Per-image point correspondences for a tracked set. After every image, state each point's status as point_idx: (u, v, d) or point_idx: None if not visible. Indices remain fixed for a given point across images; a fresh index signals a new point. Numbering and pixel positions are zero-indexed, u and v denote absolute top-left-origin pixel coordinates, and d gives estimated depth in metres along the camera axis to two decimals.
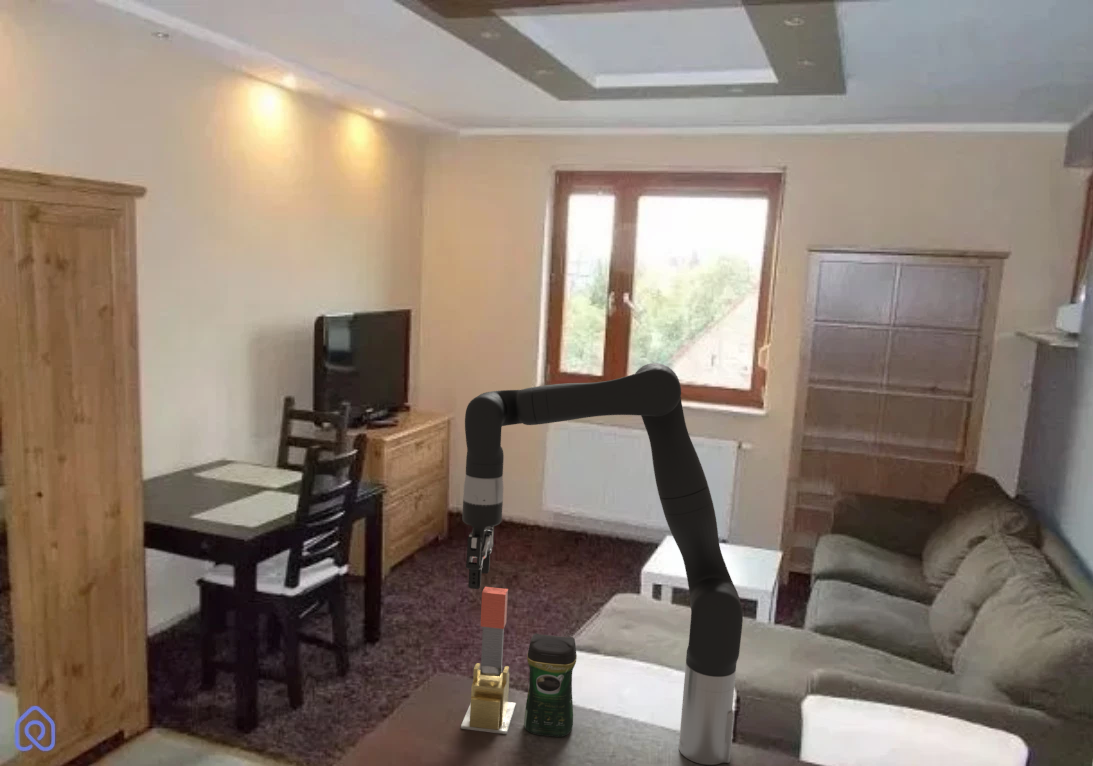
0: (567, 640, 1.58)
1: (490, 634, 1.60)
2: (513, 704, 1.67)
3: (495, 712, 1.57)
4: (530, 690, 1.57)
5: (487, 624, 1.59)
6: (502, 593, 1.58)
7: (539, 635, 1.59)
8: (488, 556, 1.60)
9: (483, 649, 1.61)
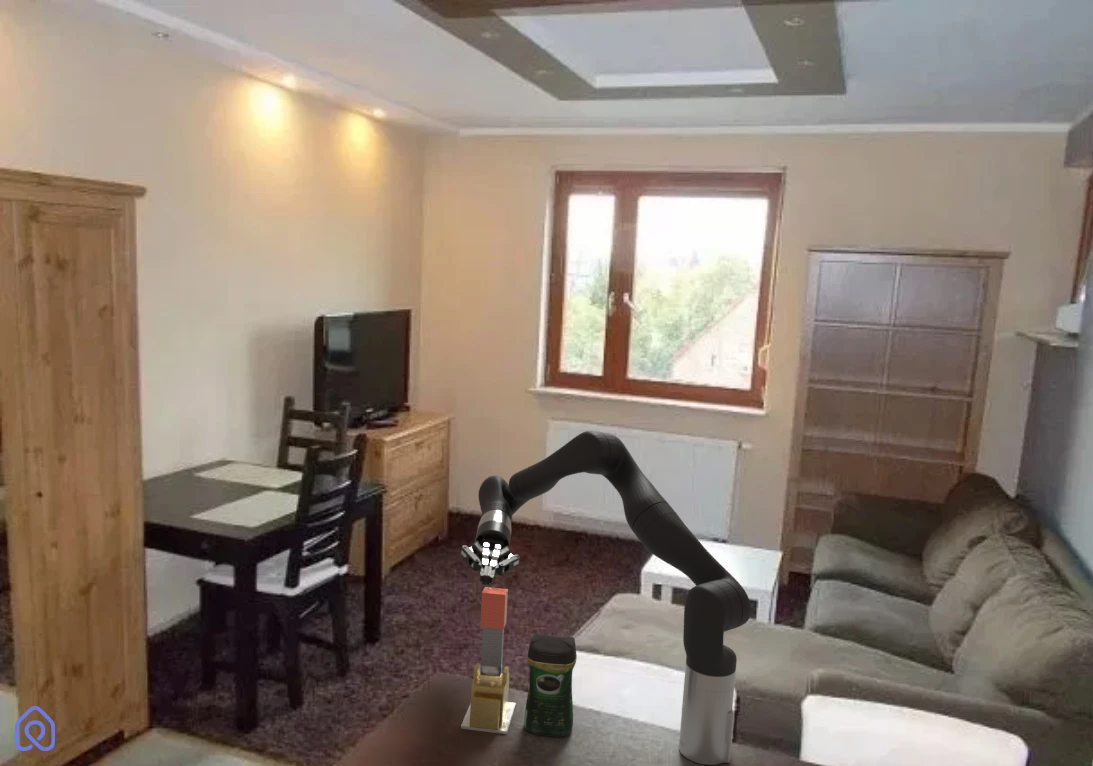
0: (567, 640, 1.58)
1: (490, 634, 1.60)
2: (513, 704, 1.67)
3: (495, 712, 1.57)
4: (530, 690, 1.57)
5: (487, 624, 1.59)
6: (502, 593, 1.58)
7: (539, 635, 1.59)
8: (488, 567, 1.68)
9: (483, 649, 1.61)
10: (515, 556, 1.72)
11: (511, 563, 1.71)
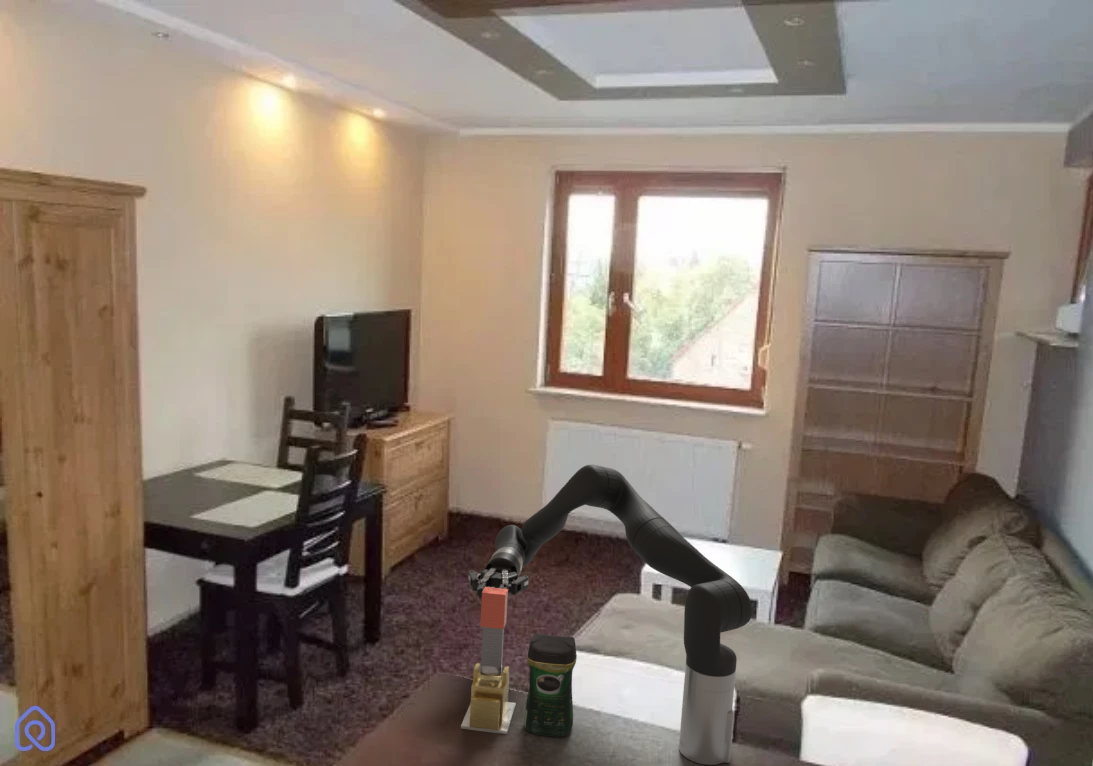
0: (567, 640, 1.58)
1: (490, 634, 1.60)
2: (513, 704, 1.67)
3: (495, 712, 1.57)
4: (530, 690, 1.57)
5: (487, 624, 1.59)
6: (502, 593, 1.58)
7: (539, 635, 1.59)
8: (501, 585, 1.72)
9: (483, 649, 1.61)
10: (524, 576, 1.77)
11: (522, 582, 1.75)
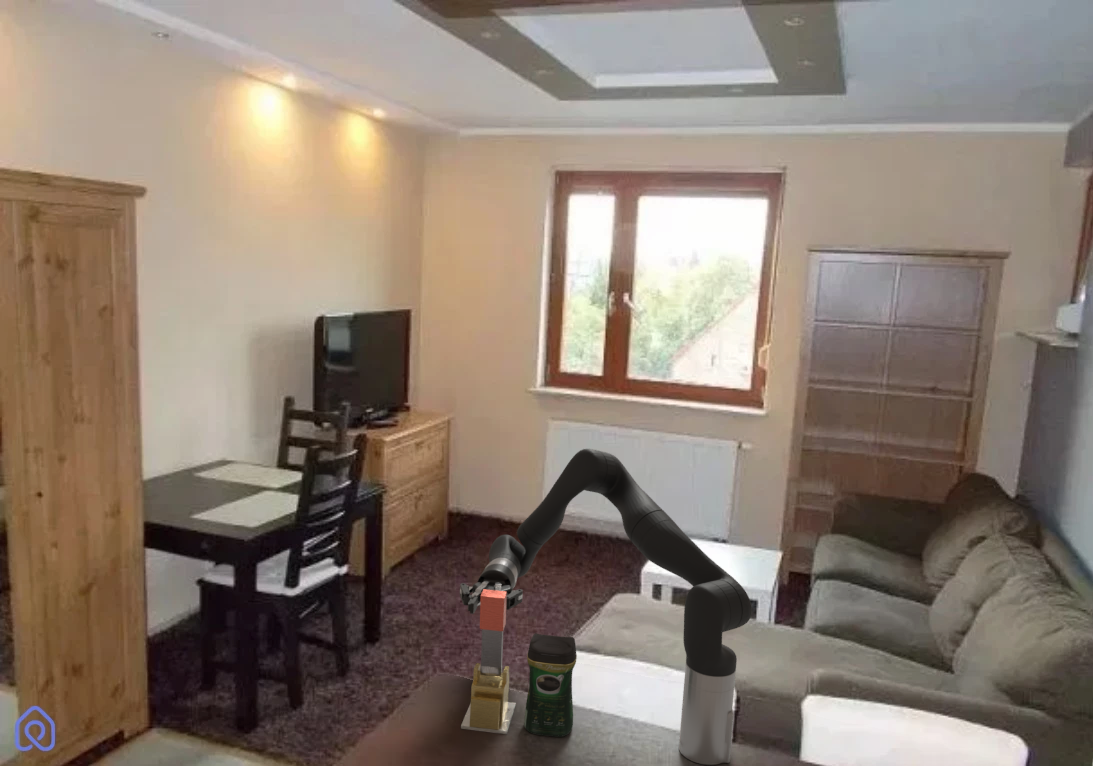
0: (567, 640, 1.58)
1: (489, 636, 1.59)
2: (513, 704, 1.67)
3: (495, 712, 1.57)
4: (530, 690, 1.57)
5: (486, 626, 1.58)
6: (501, 597, 1.57)
7: (539, 635, 1.59)
8: None
9: (483, 650, 1.60)
10: (518, 590, 1.69)
11: (516, 596, 1.67)
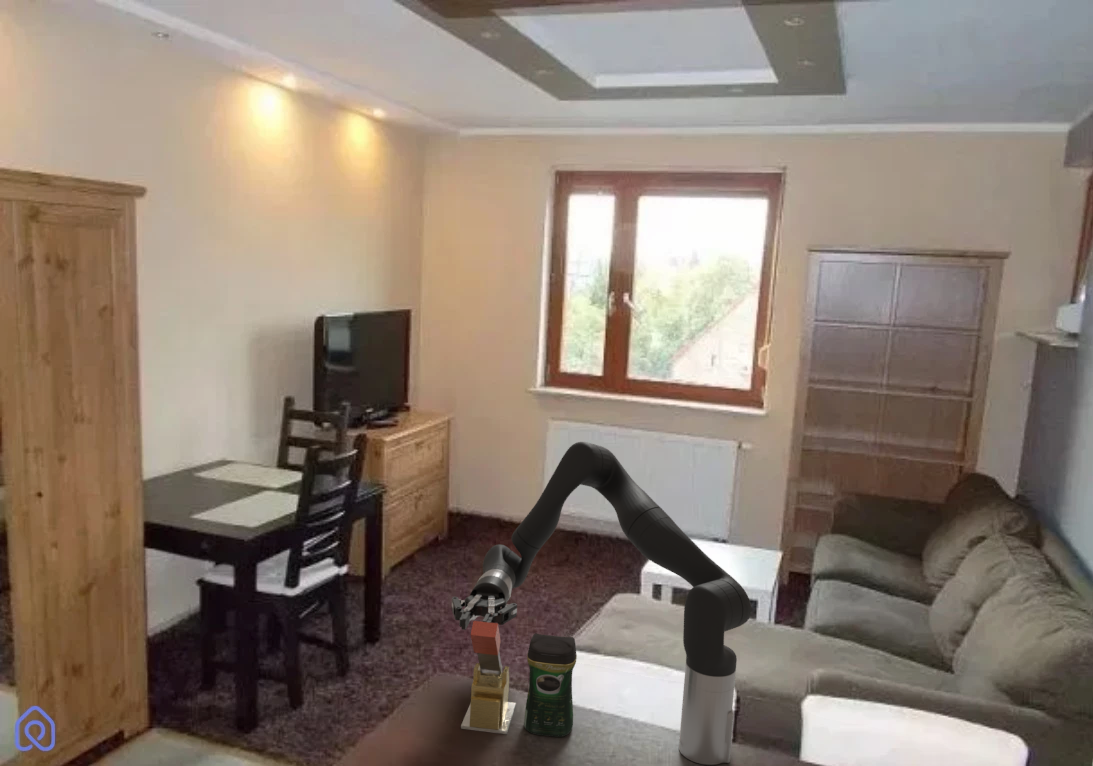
0: (567, 640, 1.58)
1: (485, 654, 1.56)
2: (513, 704, 1.67)
3: (495, 712, 1.57)
4: (530, 690, 1.57)
5: (480, 651, 1.54)
6: (492, 635, 1.49)
7: (539, 635, 1.59)
8: (486, 615, 1.57)
9: (480, 661, 1.58)
10: (512, 604, 1.62)
11: (510, 611, 1.60)
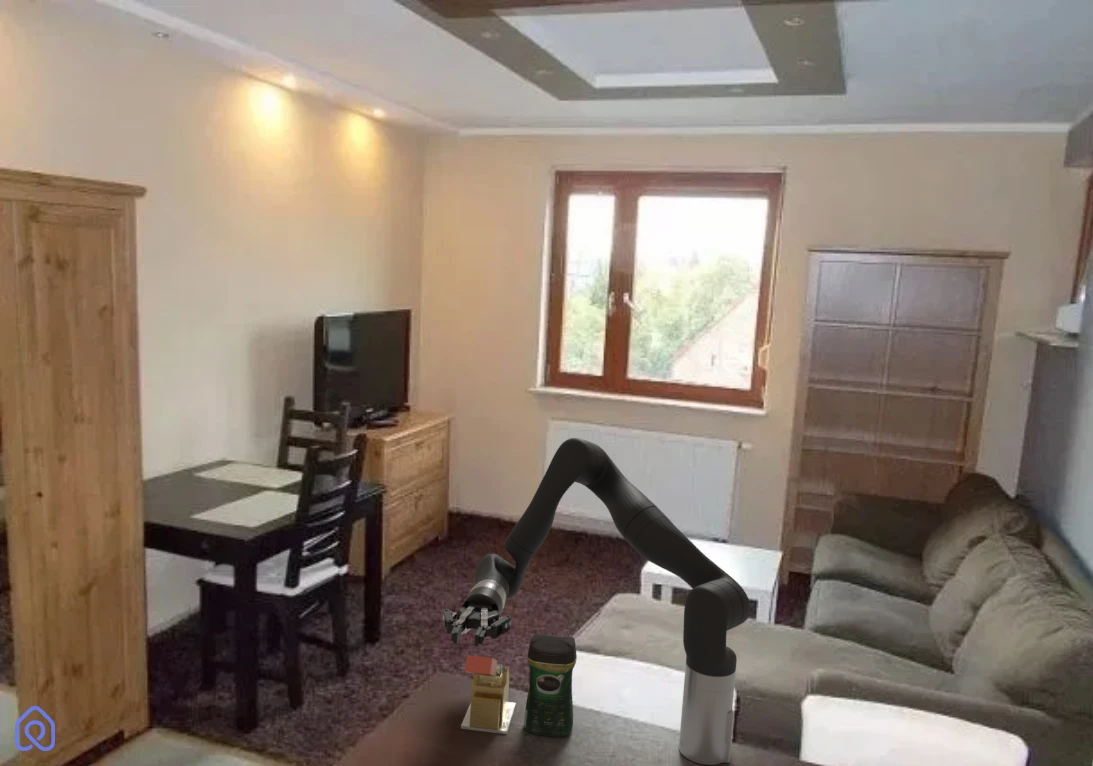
0: (567, 640, 1.58)
1: None
2: (513, 704, 1.67)
3: (495, 712, 1.57)
4: (530, 690, 1.57)
5: None
6: (486, 671, 1.46)
7: (539, 635, 1.59)
8: (478, 628, 1.50)
9: None
10: (506, 617, 1.55)
11: (504, 624, 1.53)
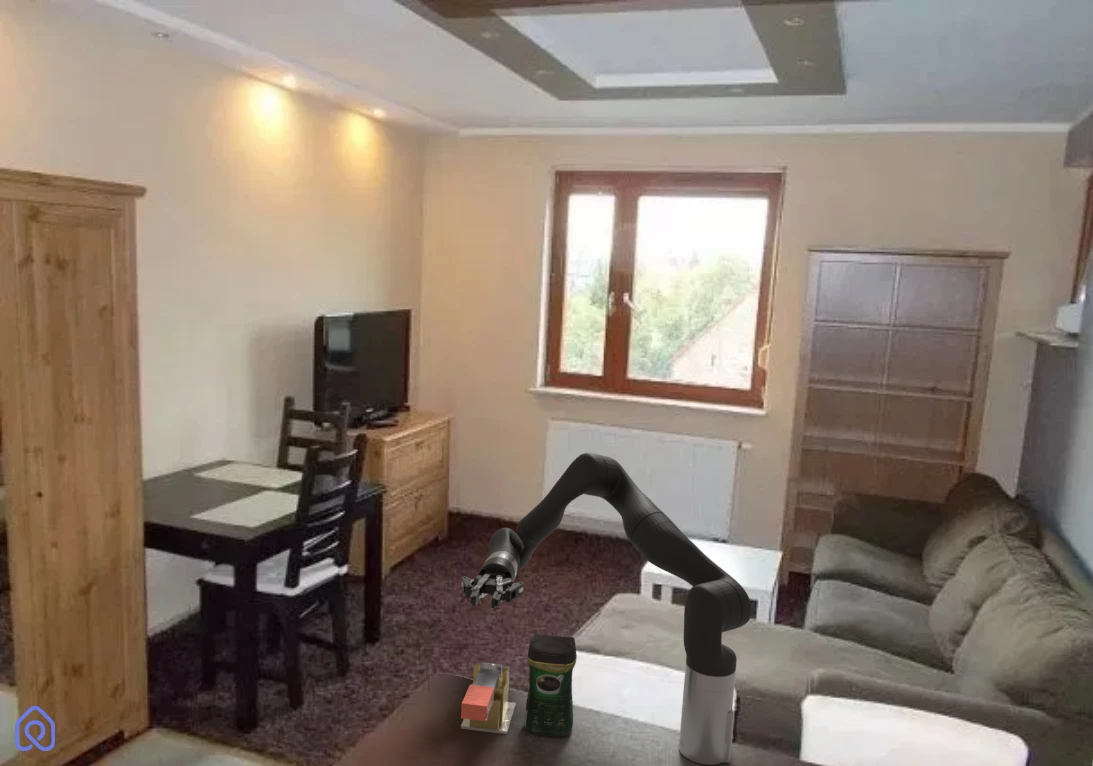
0: (567, 640, 1.58)
1: None
2: (513, 704, 1.67)
3: (495, 712, 1.57)
4: (530, 690, 1.57)
5: None
6: (482, 718, 1.45)
7: (539, 635, 1.59)
8: (495, 592, 1.67)
9: None
10: (519, 583, 1.72)
11: (517, 589, 1.70)
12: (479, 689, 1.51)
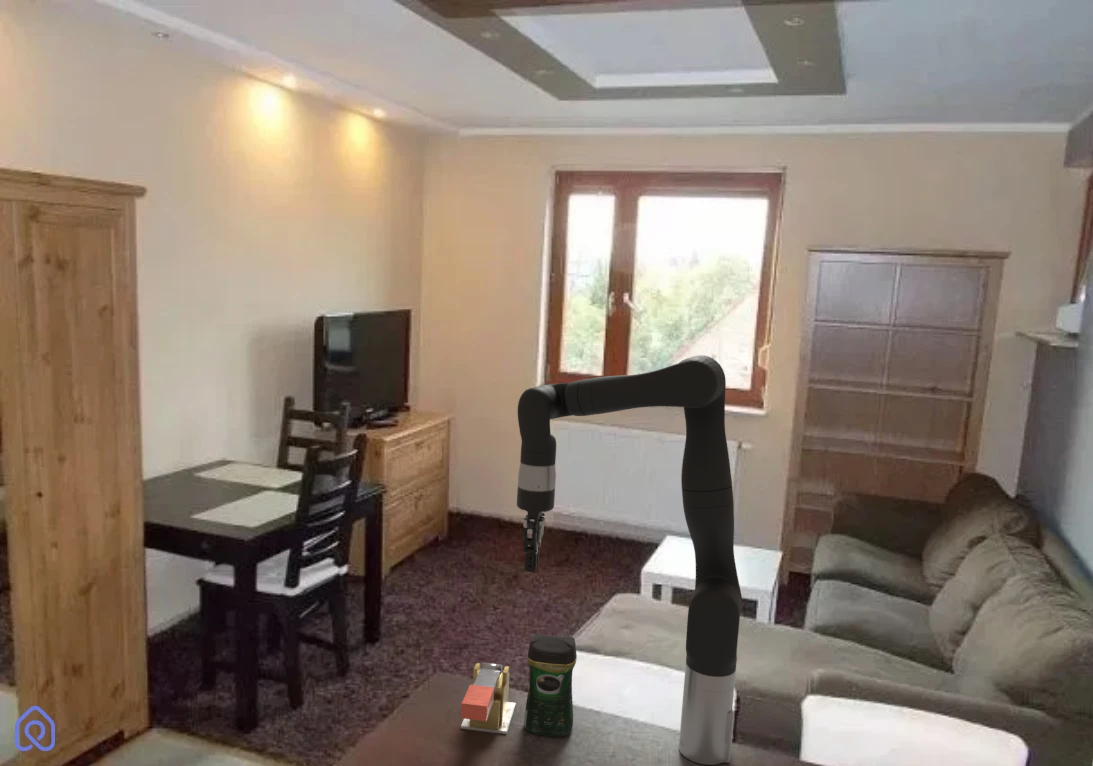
0: (567, 640, 1.58)
1: None
2: (513, 704, 1.67)
3: (495, 712, 1.57)
4: (530, 690, 1.57)
5: None
6: (482, 718, 1.45)
7: (539, 635, 1.59)
8: (538, 549, 1.67)
9: None
10: None
11: None
12: (479, 689, 1.51)
